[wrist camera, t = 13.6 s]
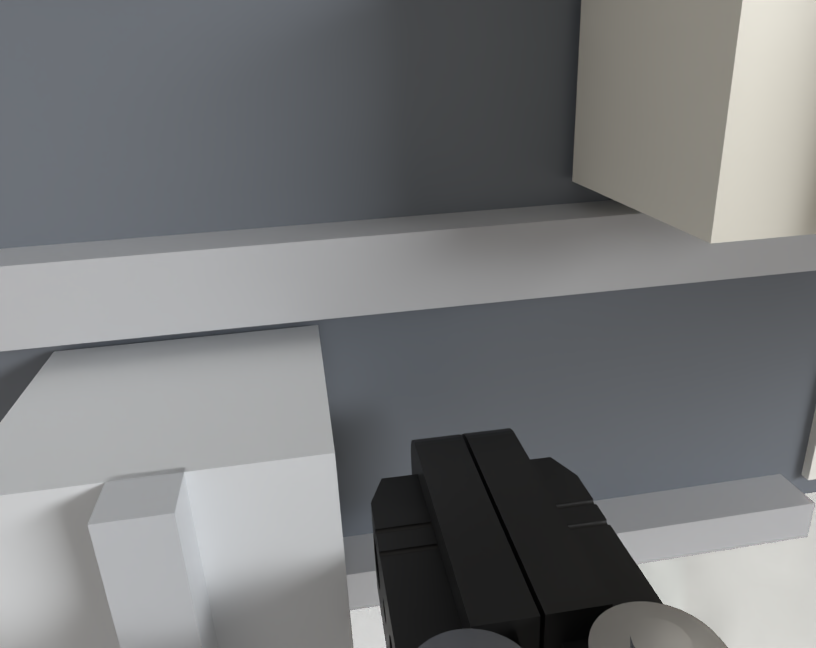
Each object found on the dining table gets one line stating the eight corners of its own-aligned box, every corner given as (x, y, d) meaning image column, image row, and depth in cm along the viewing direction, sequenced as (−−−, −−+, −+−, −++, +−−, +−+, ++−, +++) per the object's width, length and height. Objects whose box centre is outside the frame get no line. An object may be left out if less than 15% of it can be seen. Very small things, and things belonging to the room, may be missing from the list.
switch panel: (-418, -176, 9) (-727, -276, 6) (1113, -171, 12) (1349, -234, 10) (-110, 569, 14) (-207, 699, 11) (938, 423, 17) (1064, 495, 14)
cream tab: (587, -116, 9) (832, -248, 5) (850, -118, 10) (1260, -239, 6) (572, 181, 11) (750, 262, 7) (800, 163, 11) (1096, 228, 7)
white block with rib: (53, 351, 10) (-97, 549, 6) (317, 325, 11) (340, 490, 7) (108, 559, 12) (16, 830, 8) (337, 527, 12) (365, 763, 8)
